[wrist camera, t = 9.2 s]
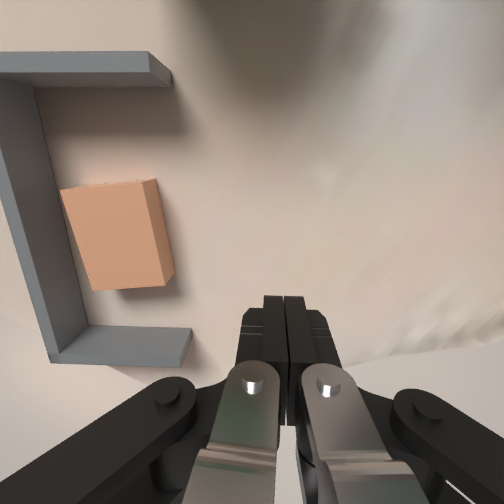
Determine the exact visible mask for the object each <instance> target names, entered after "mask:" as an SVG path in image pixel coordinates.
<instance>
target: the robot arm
mask: <svg viewBox="0 0 504 504" xmlns="http://www.w3.org/2000/svg"><path fill="white" fill-rule="evenodd" d="M285 414H286V416H287V426H295V427H296V438H297V440H296V460H297V467H298V473H299V480H300V486H301V492H302V499H303V504H471V503H470V502H469V501H468V500H467V499H465V498H464V497H463V496H462V495H461V494H459V493H458V492H457V491H456V490H455V489H453V488H452V487H451V486H450V485H449V484H447V483H446V480H448V481H449V482H450V483H451V484H453V485H454V486H455V487H456V488H457V489H459V490H460V491H461V492H462V493H464V494H465V495H466V496H467V497H468V498H469V499H471V500H472V501H473V502H474V503H476V504H504V438H502V437H500V436H499V435H497V434H496V433H494V432H493V431H491V430H489V429H488V428H486V427H485V426H483V425H482V424H480V423H478V422H477V421H475V420H474V419H472V418H471V417H469V416H467V415H466V414H464V413H463V412H461V411H460V410H458V409H456V408H455V407H453V406H452V405H450V404H449V403H447V402H445V401H444V400H442V399H441V398H439V397H437V396H435V395H433V394H431V393H429V392H426V391H423V390H419V389H404V390H401V391H399V392H398V393H397V394H396V395H395V397H394V400H392V399H388V398H385V397H382V396H379V395H375V394H372V393H369V392H367V391H364V390H363V389H361V388H359V387H358V386H357V385H356V383H355V381H354V379H353V378H352V377H351V376H350V375H349V374H348V373H347V372H346V371H344V370H343V369H342V366H341V363H340V360H339V357H338V354H337V351H336V348H335V345H334V341H333V338H332V335H331V332H330V330H329V326H328V323H327V320H326V318H325V317H324V316H323V315H322V314H321V313H320V312H319V311H318V310H306V306H305V302H304V297H303V296H284V301H283V296H268V295H264V305H263V308H249V309H248V310H247V312H246V313H245V314H244V315H243V319H242V326H241V331H240V337H239V343H238V350H237V356H236V362H235V366H234V367H233V368H232V369H231V371H230V372H229V374H228V376H227V378H226V379H225V380H223V381H221V382H220V383H217V384H215V385H212V386H208V387H204V388H199V389H195V387H194V385H193V384H192V383H191V382H190V381H189V380H188V379H185V378H182V377H166V378H163V379H160V380H158V381H156V382H154V383H152V384H151V385H149V386H148V387H146V388H145V389H143V390H141V391H140V392H138V393H137V394H135V395H134V396H132V397H131V398H129V399H128V400H126V401H124V402H123V403H121V404H120V405H118V406H117V407H115V408H114V409H112V410H111V411H109V412H108V413H106V414H104V415H103V416H101V417H100V418H98V419H97V420H95V421H94V422H92V423H91V424H89V425H88V426H86V427H84V428H83V429H81V430H80V431H78V432H77V433H75V434H74V435H72V436H71V437H69V438H67V439H66V440H64V441H63V442H61V443H60V444H58V445H57V446H55V447H54V448H52V449H51V450H49V451H47V452H46V453H45V454H43V455H41V456H40V457H38V458H37V459H35V460H34V461H32V462H31V463H29V464H28V465H26V466H25V467H23V468H21V469H20V470H18V471H17V472H15V473H14V474H12V475H11V476H9V477H7V478H6V479H4V480H3V481H1V482H0V504H274V496H275V476H276V455H277V450H278V448H279V442H280V425H285Z"/></svg>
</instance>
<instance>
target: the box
mask: <svg viewBox="0 0 504 504" xmlns="http://www.w3.org/2000/svg"><path fill="white" fill-rule="evenodd" d="M33 87H172V83H171V71H170V70H169V69H168V68H167V67H166V66H165V65H163V64H162V63H161V62H160V61H159V60H158V59H156V58H155V57H154V56H153V55H152V54H151V53H149V52H148V51H60V52H0V199H1V202H2V205H3V209H4V212H5V215H6V218H7V222H8V225H9V228H10V232H11V235H12V238H13V241H14V245H15V248H16V251H17V255H18V258H19V261H20V264H21V268H22V271H23V274H24V278H25V281H26V284H27V288H28V291H29V294H30V297H31V301H32V304H33V307H34V311H35V314H36V317H37V320H38V324H39V327H40V330H41V334H42V337H43V340H44V343H45V347H46V350H47V353H48V357H49V360H50V363H57V364H87V365H89V364H90V365H115V366H145V367H174V368H180V367H181V365H182V362H183V360H184V357H185V354H186V352H187V349H188V346H189V344H190V341H191V339H192V330H191V328H163V327H129V326H96V325H88V323H87V318H86V314H85V310H84V305H83V301H82V297H81V292H80V288H79V284H78V279H77V275H76V271H75V267H74V262H73V258H72V254H71V249H70V245H69V241H68V236H67V232H66V228H65V223H64V219H63V215H62V210H61V206H60V202H59V198H58V193H57V189H56V185H55V180H54V176H53V172H52V167H51V163H50V159H49V154H48V150H47V146H46V141H45V137H44V133H43V129H42V124H41V120H40V116H39V111H38V107H37V103H36V98H35V94H34V90H33Z"/></svg>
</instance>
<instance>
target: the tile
mask: <svg viewBox="0 0 504 504" xmlns="http://www.w3.org/2000/svg"><path fill="white" fill-rule="evenodd" d="M60 193H61V196H62V199H63V202H64V205H65V208H66V212H67V215H68V218H69V221H70V224H71V227H72V230H73V233H74V236H75V239H76V242H77V245H78V248H79V251H80V254H81V257H82V260H83V263H84V266H85V269H86V272H87V275H88V279H89V282H90V285H91V288H92V291H97V290H111V289H125V288H139V287H153V286H165V285H166V284H167V282H168V281H169V280H170V278H171V277H172V275H173V274H174V273H175V269H174V264H173V259H172V254H171V249H170V245H169V240H168V235H167V230H166V225H165V220H164V216H163V211H162V206H161V201H160V196H159V192H158V187H157V182H156V178H155V179H145V180H135V181H125V182H114V183H104V184H94V185H84V186H78V187H73V188H68V189H63V190H60Z"/></svg>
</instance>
